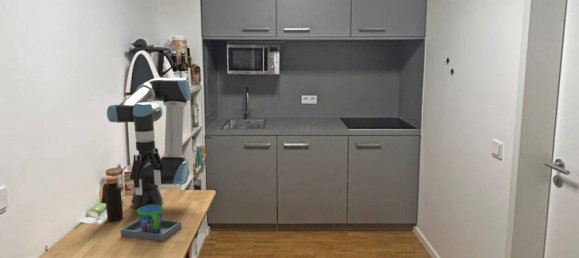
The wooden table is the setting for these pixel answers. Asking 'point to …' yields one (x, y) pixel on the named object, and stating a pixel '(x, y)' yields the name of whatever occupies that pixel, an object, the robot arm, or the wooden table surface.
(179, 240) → the wooden table surface
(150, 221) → the snack cup
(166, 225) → the tray
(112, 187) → the bottle
